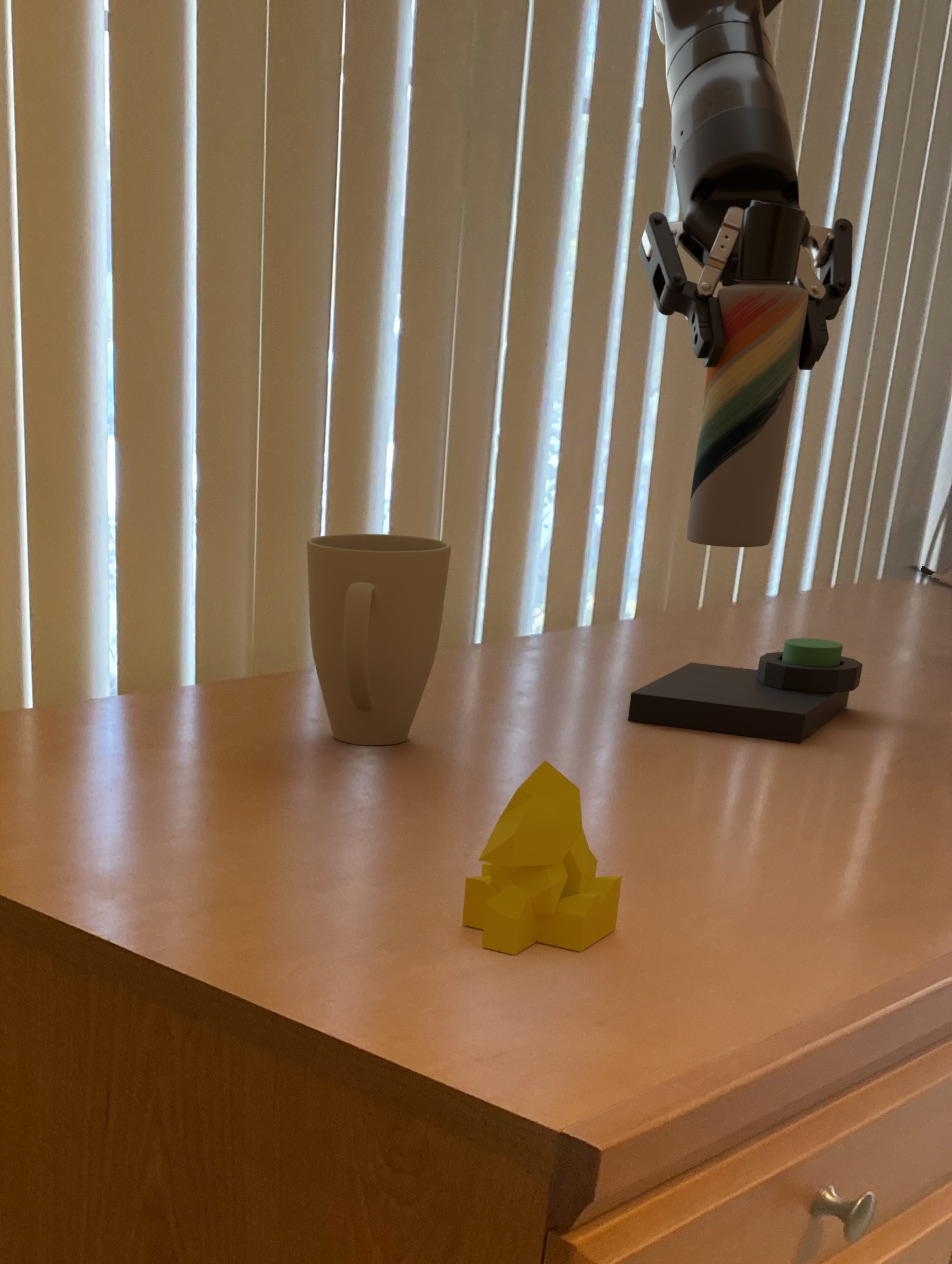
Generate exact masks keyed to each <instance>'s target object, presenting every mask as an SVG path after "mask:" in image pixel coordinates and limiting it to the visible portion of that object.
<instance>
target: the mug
mask: <svg viewBox="0 0 952 1264" xmlns="http://www.w3.org/2000/svg"><path fill="white" fill-rule="evenodd" d="M306 553H307V554H306V555H307V556H306V557H307V559H306V560H307V583H308V587H307V588H308V589H307V590H308V614H309V618H308V619H309V633H310V644H311V651H312V656H313V661H314V662H313V663H314V666H315V672H316V675H317V678H318V682H319V686H320V690H321V694H322V698H323V702H324V706H325V709H326V713H327V717H328V721H329V725H330V729H331V733H332V736H333V738H334V739H335V740H337V741H339V742H343V743H347V744H352V745H360V746H388V745H389V746H390V745H396V744H397V745H398V744H400V743H403V742H405V741H406V740H407V738H408V736H409V734H410V730H411V728H412V725H413V722H414V719H415V716H416V714H417V711H418V708H419V705H420V703H421V700H422V697H423V694H424V692H425V689H426V686H427V684H428V681H429V678H430V675H431V672H432V669H433V666H434V663H435V659H436V655H437V650H438V647H439V640H440V636H441V635H440V634H441V629H442V628H441V627H442V621H443V613H444V607H445V606H444V605H445V599H446V598H445V597H446V590H447V583H448V574H449V567H450V559H451V553H452V545H451V543H450V542H447V541H444V540H440V539H435V538H430V537H423V536H414V535H413V536H412V535H401V534H385V533H384V534H383V533H343V534H340V533H339V534H327V535H320V536H314V537H311V538H308V539H307V540H306Z"/></svg>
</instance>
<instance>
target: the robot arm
mask: <svg viewBox="0 0 952 1264" xmlns="http://www.w3.org/2000/svg"><path fill="white" fill-rule="evenodd" d="M782 2H783V0H653V12H654V22H655V28H656V32H657V35H658V38H659V41H660V43H661V44H662V47H664V49H665V82H666V92H667V98H668V106H669V112H670V113H669V114H670V121H671V124H670V125H671V126H670V146H671V147H670V148H671V153H670V154H671V155H670V157H671V164H672V167H673V169H674V177H675V184H676V189H677V198H678V206H679V210H680V218H681V220H677V221H668V218H667V215H665V214H664V213H663V212H659V211H654V212H652V213H650V214H649V216H648V219H647V221H646V224H645V228H644V230H643V233H642V236H641V240H640V243H639V244H638V254H639V257H640V261H641V263H642V266H643V270H644V272H645V274H646V279H647V281H648V285H649V287H650V291H651V293H652V297H653V300H654V303H655V306H656V309H657V311H658V312H659V313H660V314H661V315H663V316H667V317H668V316H672V315H674V314H675V313H678V314H681V315H683V316H684V317H685V320H686V321H687V322H688V323H689V324H688V325H689V330H690V338H691V345H692V351H693V353H694V356H695V357H696V359H702V367H703V368H708V367H714V368H715V367H716V366H717V364H718V361H719V359H720V357H721V354H722V352H723V350H724V346H725V336H724V329H723V322H722V315H721V308H720V302H719V297H717V296H715V297H714V294H715V292H716V289H717V287H718V285H719V283H721V287H723V288H724V287H727V286H732V285H736V284H739V283H741V282H742V281H736V280H735V272H736V264H737V256H738V249H739V241H740V233H741V225H742V217H743V212H744V210H745V209H746V208H748V207H749V205H750V202H751V200H758V201H762V202H767V203H771V204H779V205H784V206H788V207H792V208H797V209H801V210H802V208H801V206H800V187H799V185H800V184H799V179H798V178H799V177H798V172H797V171H798V170H797V167H796V160H795V155H794V149H793V143H792V136H791V132H790V131H791V130H790V125H789V119H788V112H787V107H786V104H785V103H786V102H785V99H784V96H783V93H782V91H781V88H780V86H779V83H778V79H777V78H778V77H777V74H776V67H775V61H774V55H773V48H772V45H771V39H770V36H769V33H768V29H767V23H766V21H765V20H766V19H767V18H768V17H769V16H770V15H771V13H772V12H773V11H774V10H775V9H776V8H777V7H778V6H779V5H780V4H781V3H782ZM853 232H854V226H853V223H852V222H851V221H850V220H849V219H847V218H837V220H835V221H834V224H833V226H832V228H831V227H824V226H818V225H811V223H810V219H809V218H808V216H807V215H806V214H805V221H804V228H803V234H802V241H801V247H800V254H799V260H798V267H797V273H796V279H795V281H794V282H788V284H790V285H792V286H796V287H799V288H802V289H805V290H807V291H808V304H807V311H806V318H805V325H804V331H803V338H802V344H801V351H800V357H799V364H798V369H799V370H800V371H812V370H813V368H814V367H815V364H816V362H820V360H821V358H822V356H823V354H824V352H825V350H826V348H827V346H828V342H829V339H830V336H829V331H828V329H829V328H828V325H827V324H828V323H827V321H833V320H835V319H836V317H837V316H838V314H839V312H840V308H841V306H842V305H843V302H844V300H845V298H846V296H847V295H848V294H849V291H850V289H851V287H852V282H853V281H852V279H853V278H852V275H853V274H852V273H853V234H854V233H853ZM679 246H680V247H681V248H682V250H683V251H684V252H685V253H686V254H687V255H688V256H689V257H690V258H691V259H693V261H694V262H695V263H696V264H697V265H699V267H700V268H702V271H701V274H700V277H698V278H699V279H698V282H694V281H690V280H688V278H687V274H686V271H685V268H684V266H683V265H684V264H683V262H682V260H681V256H680V254H679V251H678V247H679ZM807 249H808V250H809V251H810V252H811V254H812V257H811V255H810V254H809V252H808V251H807ZM812 258H813V260H814V262H813V267H814V268H815V269H819V277H818V276H817V274H816V273H815V271H814V270H813V269H812ZM920 572H921V573H922V574H924V575H926V576H928V575H932V574H933V573H937V572H936V571H934V570H932V569H930V568H928V567H927V566H925V565H924V566H922V568H921V571H920Z"/></svg>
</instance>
